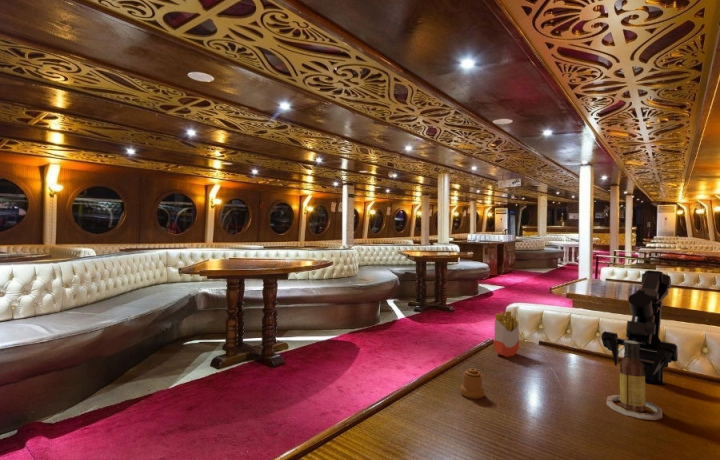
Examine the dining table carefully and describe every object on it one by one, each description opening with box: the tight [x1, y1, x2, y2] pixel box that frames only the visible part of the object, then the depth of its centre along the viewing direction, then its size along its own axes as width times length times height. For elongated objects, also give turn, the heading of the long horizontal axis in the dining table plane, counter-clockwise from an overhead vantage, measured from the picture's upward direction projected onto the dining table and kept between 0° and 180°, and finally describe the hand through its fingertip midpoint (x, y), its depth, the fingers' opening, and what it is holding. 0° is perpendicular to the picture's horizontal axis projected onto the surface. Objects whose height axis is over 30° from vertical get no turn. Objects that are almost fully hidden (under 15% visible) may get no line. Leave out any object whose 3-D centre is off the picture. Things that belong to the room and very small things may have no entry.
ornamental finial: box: [459, 367, 486, 400], centre depth 121 cm, size 8×8×8 cm
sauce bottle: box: [619, 339, 647, 413], centre depth 115 cm, size 7×6×20 cm
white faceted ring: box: [606, 394, 663, 421], centre depth 115 cm, size 13×13×1 cm
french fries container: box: [493, 310, 520, 358], centre depth 164 cm, size 5×11×18 cm, turn 122°
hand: (633, 369), depth 114 cm, fingers open, 9 cm apart
